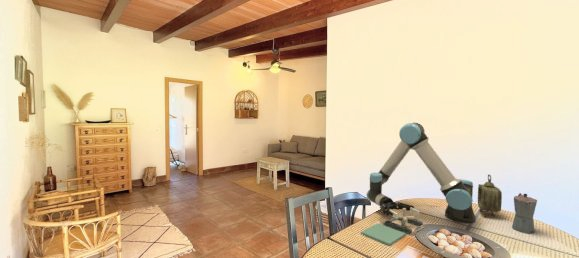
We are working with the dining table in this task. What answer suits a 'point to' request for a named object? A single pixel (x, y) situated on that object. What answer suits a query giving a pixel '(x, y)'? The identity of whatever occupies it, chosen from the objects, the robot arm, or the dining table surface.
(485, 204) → the olive green lantern
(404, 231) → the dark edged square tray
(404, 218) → the pipe connector
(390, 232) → the teal board
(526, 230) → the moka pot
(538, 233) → the dining table surface
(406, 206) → the robot arm
